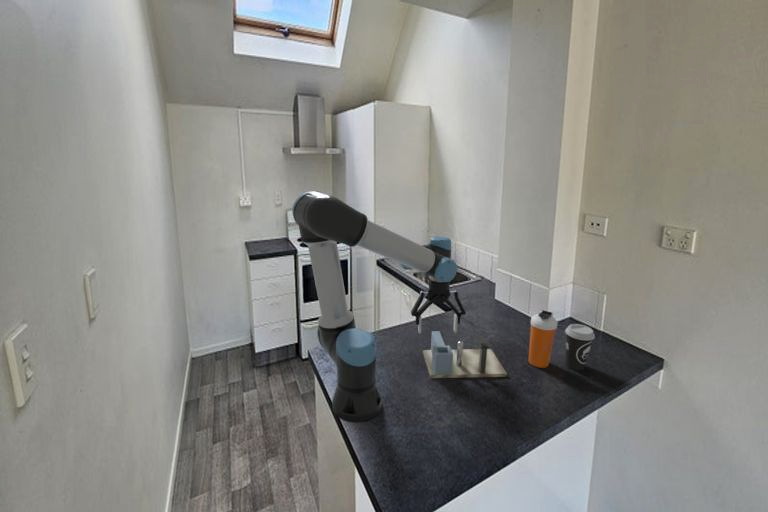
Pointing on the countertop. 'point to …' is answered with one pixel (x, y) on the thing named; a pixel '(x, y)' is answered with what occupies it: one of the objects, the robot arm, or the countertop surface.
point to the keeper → (482, 352)
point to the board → (469, 365)
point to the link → (441, 355)
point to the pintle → (459, 353)
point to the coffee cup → (577, 345)
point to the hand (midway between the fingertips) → (437, 331)
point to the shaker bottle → (541, 338)
